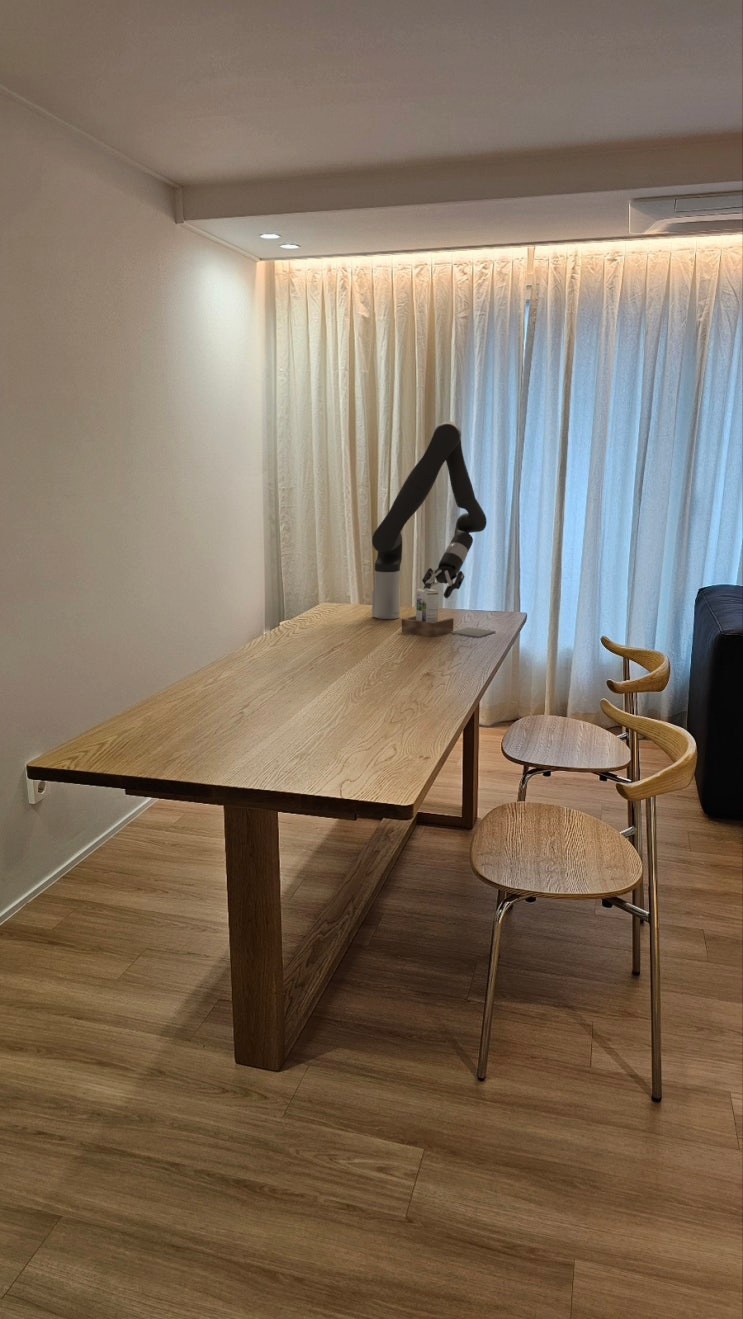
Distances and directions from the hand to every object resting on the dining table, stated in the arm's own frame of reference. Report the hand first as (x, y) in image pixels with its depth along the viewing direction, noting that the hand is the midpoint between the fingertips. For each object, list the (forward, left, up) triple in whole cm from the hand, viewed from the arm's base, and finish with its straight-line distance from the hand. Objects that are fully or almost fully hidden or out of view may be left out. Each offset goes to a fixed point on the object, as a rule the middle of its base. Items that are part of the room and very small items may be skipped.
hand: (434, 595), depth 315 cm
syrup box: (0, -4, -12) cm, 13 cm away
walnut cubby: (0, -4, -12) cm, 13 cm away
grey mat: (+13, +4, -12) cm, 18 cm away
